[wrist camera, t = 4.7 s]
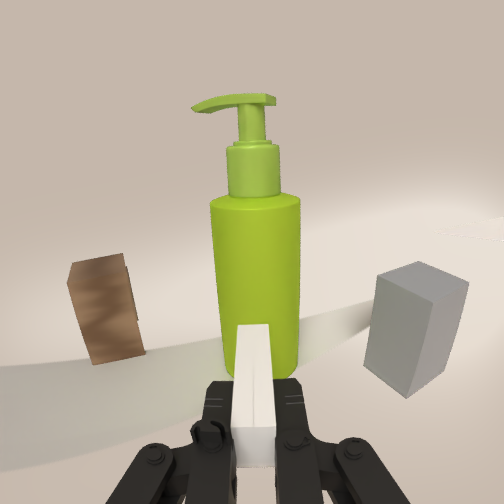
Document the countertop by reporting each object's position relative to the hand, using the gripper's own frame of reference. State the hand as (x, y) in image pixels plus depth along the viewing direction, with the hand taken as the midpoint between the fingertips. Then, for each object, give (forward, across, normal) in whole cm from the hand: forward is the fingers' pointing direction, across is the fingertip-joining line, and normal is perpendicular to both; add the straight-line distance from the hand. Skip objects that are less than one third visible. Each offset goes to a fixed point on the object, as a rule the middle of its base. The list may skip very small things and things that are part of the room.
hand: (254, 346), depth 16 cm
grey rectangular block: (+5, +12, -7) cm, 15 cm away
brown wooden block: (+10, -13, -7) cm, 18 cm away
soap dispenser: (+8, 0, -7) cm, 10 cm away
